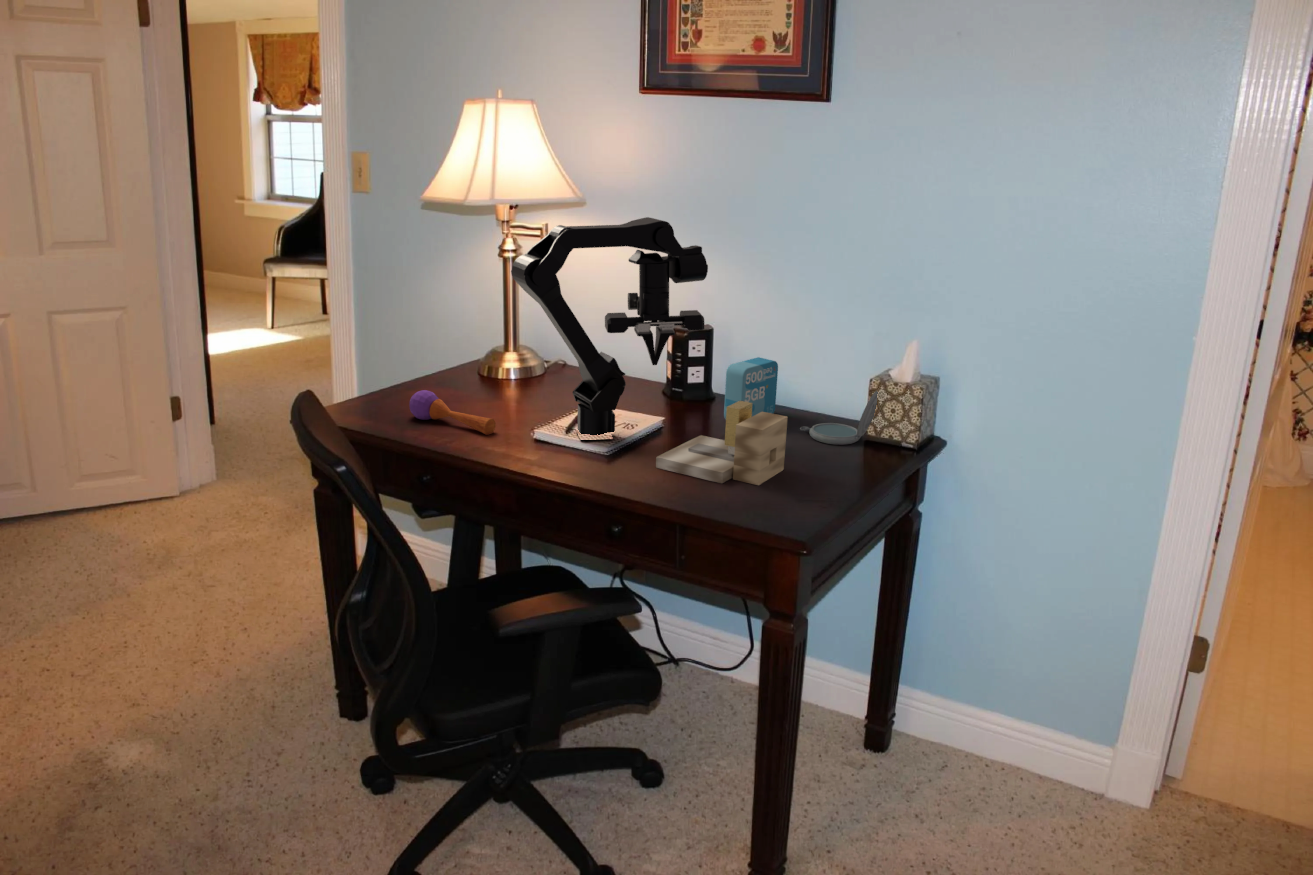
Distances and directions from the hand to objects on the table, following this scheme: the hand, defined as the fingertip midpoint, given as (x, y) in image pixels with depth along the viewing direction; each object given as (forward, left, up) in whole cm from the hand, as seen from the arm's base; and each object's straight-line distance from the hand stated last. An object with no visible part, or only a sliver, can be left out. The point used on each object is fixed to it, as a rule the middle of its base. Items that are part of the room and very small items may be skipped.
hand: (654, 364), depth 209 cm
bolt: (+11, -27, -10) cm, 31 cm away
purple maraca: (-39, +8, -14) cm, 42 cm away
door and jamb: (+8, -24, -13) cm, 28 cm away
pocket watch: (+35, -10, -14) cm, 39 cm away
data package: (+22, +5, -13) cm, 26 cm away
